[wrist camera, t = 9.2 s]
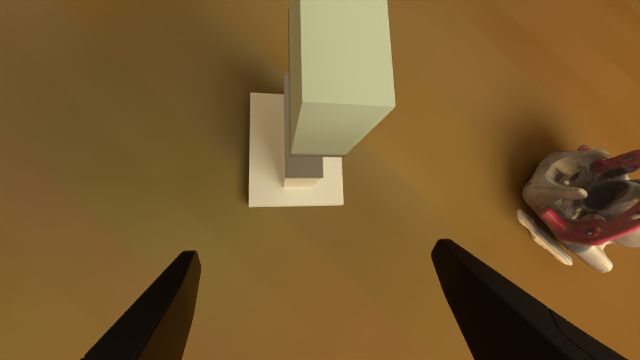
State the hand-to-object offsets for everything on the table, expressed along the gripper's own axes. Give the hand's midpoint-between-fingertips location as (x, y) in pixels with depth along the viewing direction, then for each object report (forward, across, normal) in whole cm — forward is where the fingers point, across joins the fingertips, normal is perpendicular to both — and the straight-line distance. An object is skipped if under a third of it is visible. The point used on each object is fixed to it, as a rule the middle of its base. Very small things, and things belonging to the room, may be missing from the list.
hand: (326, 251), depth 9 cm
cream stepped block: (+15, 0, +4) cm, 15 cm away
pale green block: (+6, 0, -4) cm, 8 cm away
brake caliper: (+11, -28, +8) cm, 31 cm away
